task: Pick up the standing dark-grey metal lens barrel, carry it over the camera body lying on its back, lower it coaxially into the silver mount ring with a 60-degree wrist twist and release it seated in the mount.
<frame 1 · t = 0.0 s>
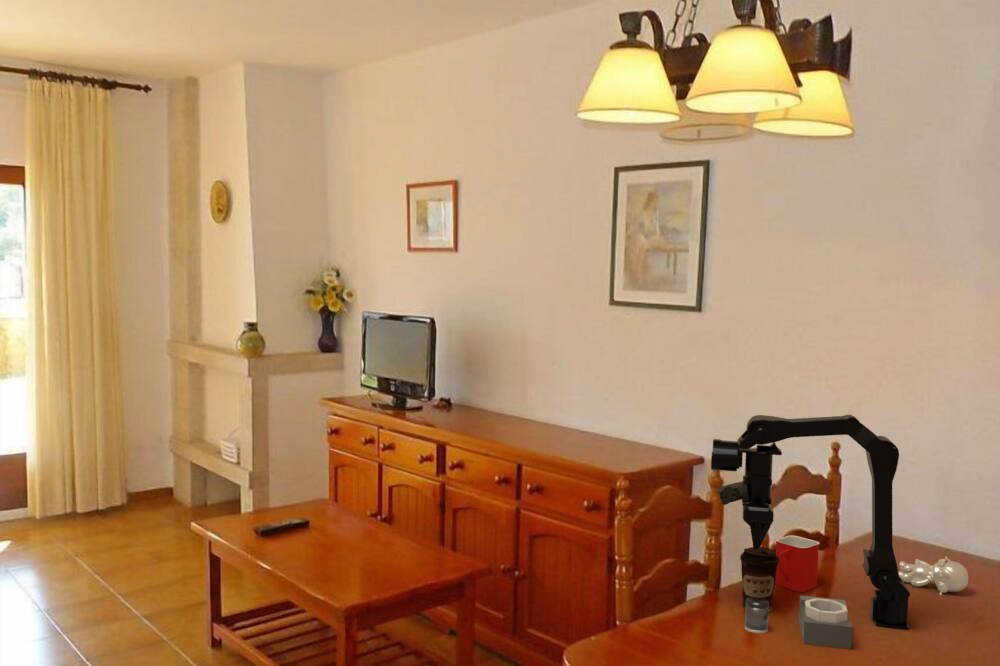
hand: (755, 542, 197), 15 cm above the table, fingers open, 9 cm apart
figurine: (932, 589, 213), on the table
lens: (756, 629, 185), on the table
coffee cup: (757, 609, 197), on the table
mug: (791, 587, 212), on the table
camera body: (824, 634, 183), on the table
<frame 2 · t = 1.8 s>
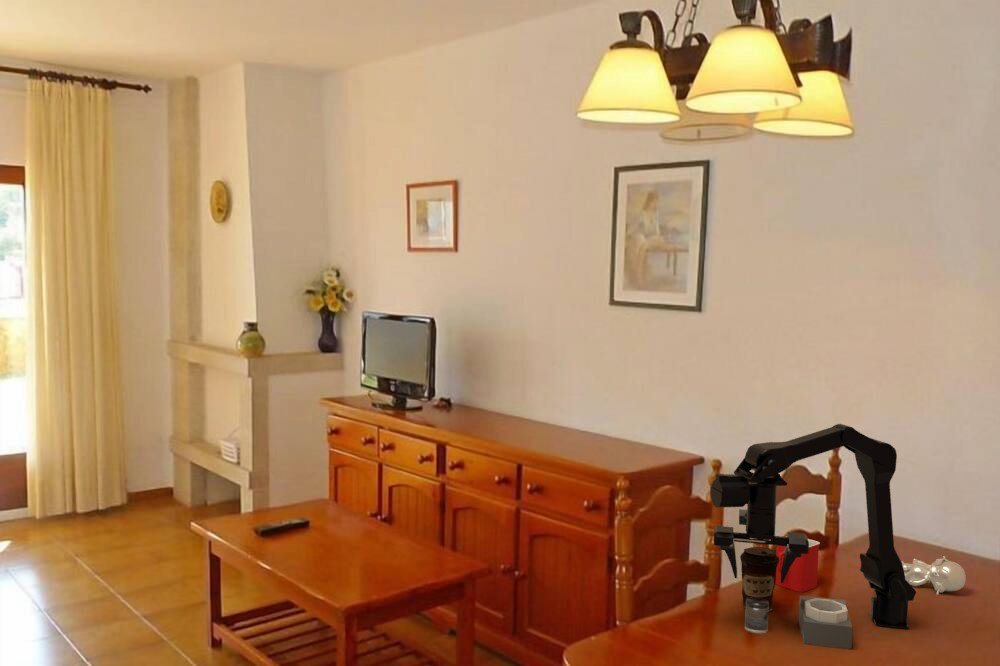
hand: (758, 580, 185), 10 cm above the table, fingers open, 9 cm apart
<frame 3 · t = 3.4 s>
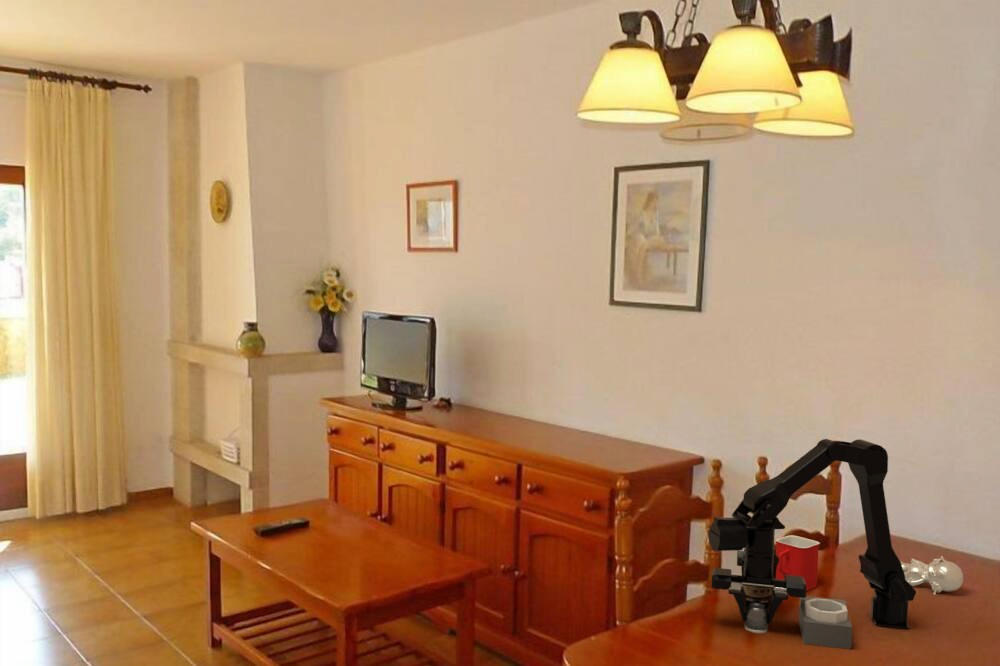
hand: (756, 622, 185), 1 cm above the table, fingers closed on lens, 5 cm apart
lens: (756, 628, 185), on the table, touching gripper
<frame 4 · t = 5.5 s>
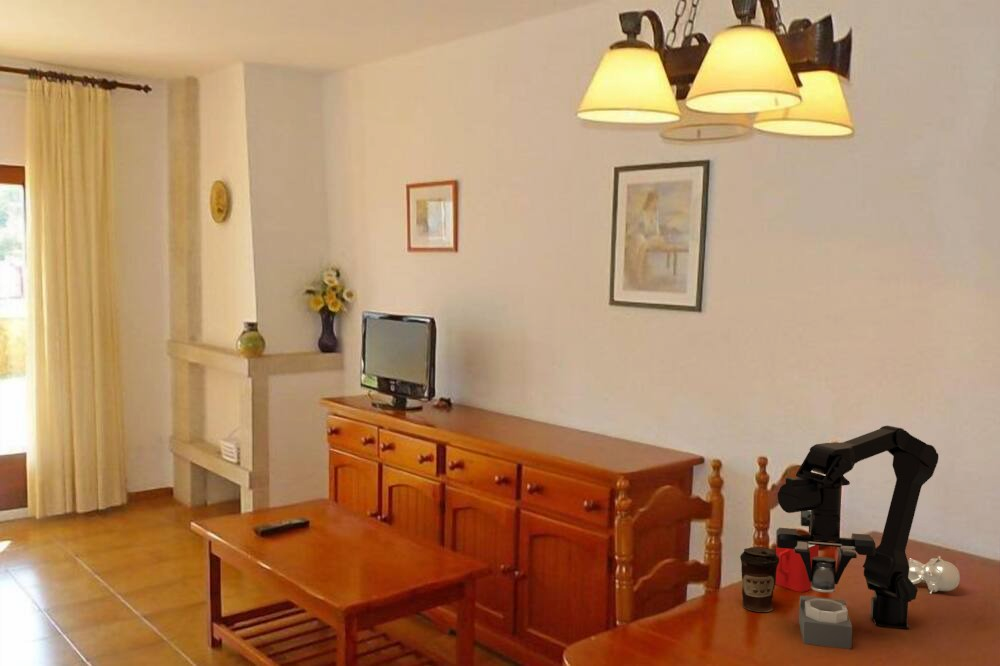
hand: (823, 582, 182), 11 cm above the table, fingers closed on lens, 5 cm apart
lens: (822, 588, 182), point 10 cm above the table, touching gripper
when the fingers open (7 cm above the table, at t = 7.2 s): lens stays where it is, resting on camera body.
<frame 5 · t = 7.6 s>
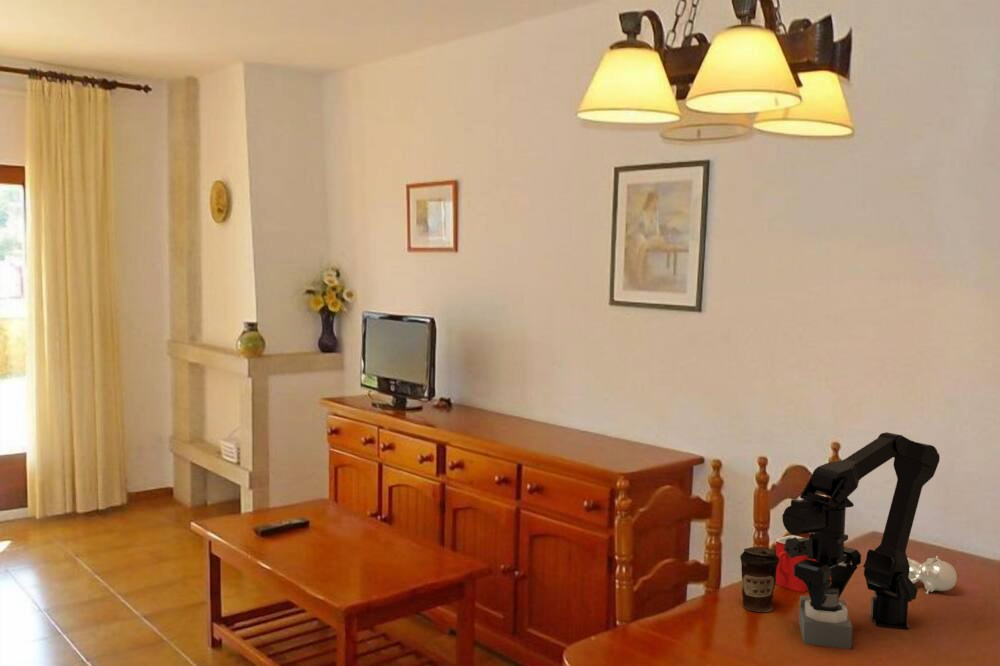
hand: (826, 604, 182), 7 cm above the table, fingers open, 9 cm apart
lens: (825, 615, 182), point 4 cm above the table, touching camera body
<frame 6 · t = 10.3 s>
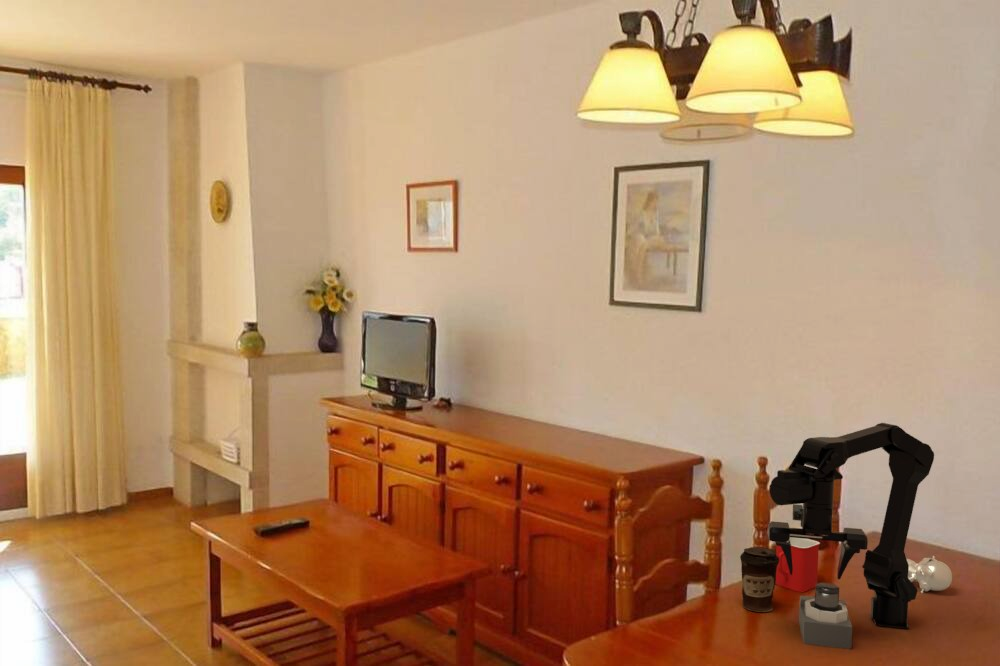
hand: (814, 576, 181), 12 cm above the table, fingers open, 9 cm apart
at the end: lens 0.1 cm from the target spot on the camera body, point 4.5 cm above the camera body's base; lens tilted 0°; the gripper is holding nothing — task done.
